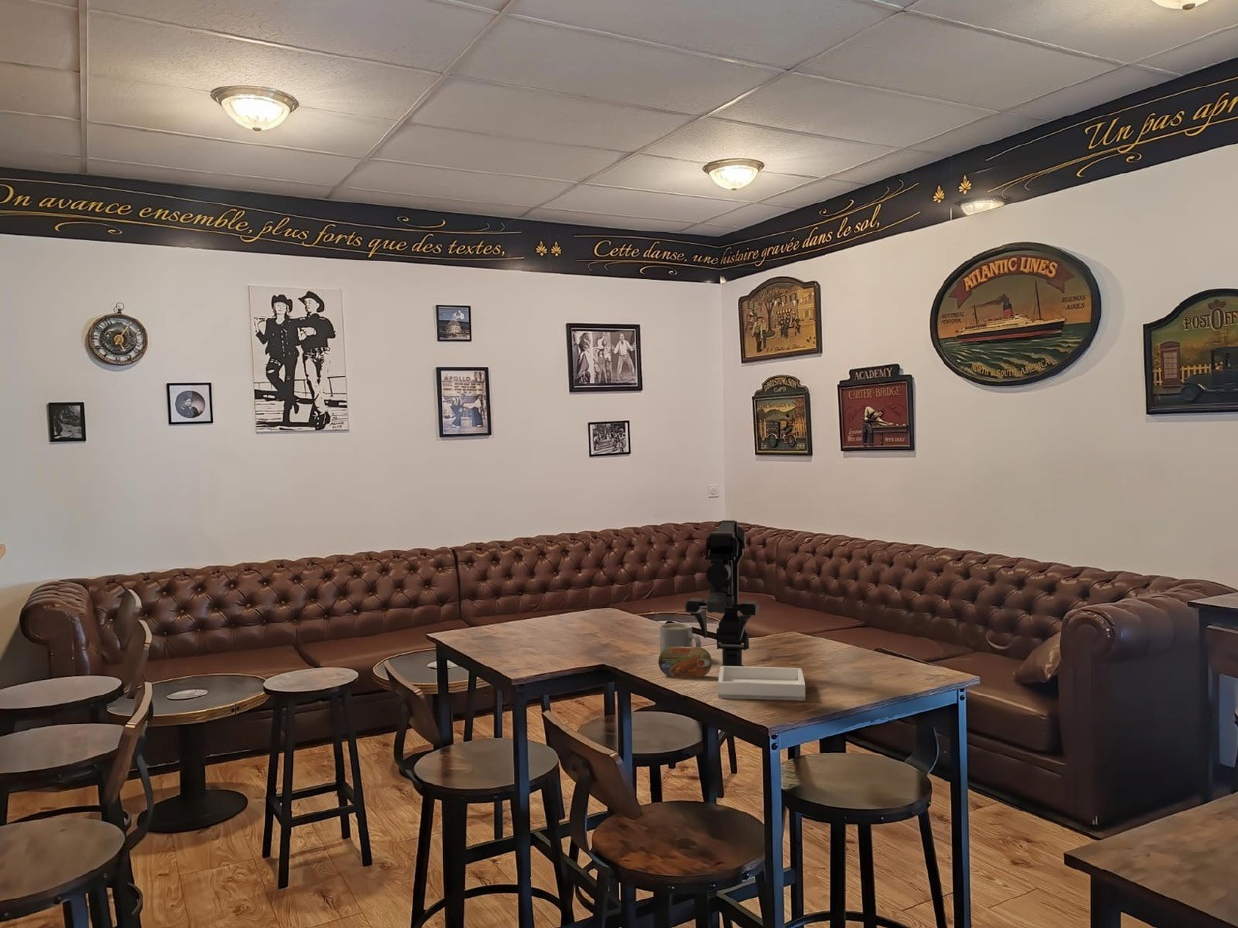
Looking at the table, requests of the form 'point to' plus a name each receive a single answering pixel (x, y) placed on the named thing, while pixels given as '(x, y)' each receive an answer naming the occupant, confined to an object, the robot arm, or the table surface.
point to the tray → (761, 683)
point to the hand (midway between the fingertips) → (722, 638)
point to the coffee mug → (677, 636)
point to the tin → (685, 662)
